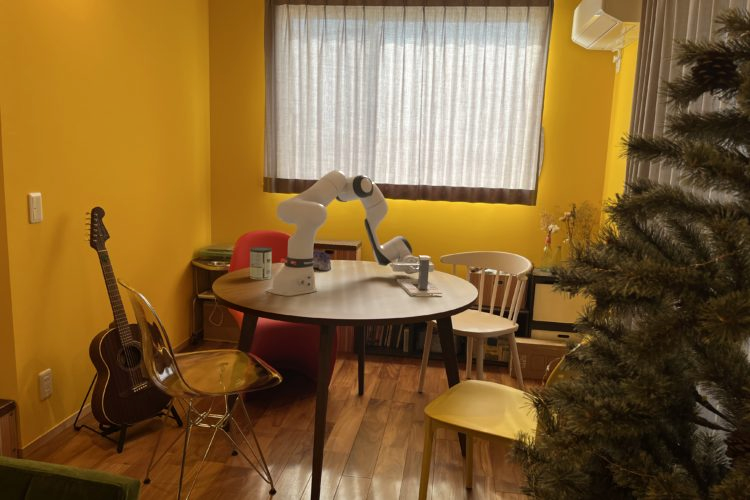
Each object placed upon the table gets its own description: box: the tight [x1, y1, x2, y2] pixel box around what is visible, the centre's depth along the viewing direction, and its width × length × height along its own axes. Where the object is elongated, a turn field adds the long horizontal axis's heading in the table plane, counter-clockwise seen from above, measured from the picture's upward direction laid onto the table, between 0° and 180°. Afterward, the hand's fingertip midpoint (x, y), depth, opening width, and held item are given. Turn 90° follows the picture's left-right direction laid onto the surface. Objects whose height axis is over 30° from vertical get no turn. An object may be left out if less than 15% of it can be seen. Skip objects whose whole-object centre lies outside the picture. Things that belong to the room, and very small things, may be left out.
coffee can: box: [249, 246, 273, 281], centre depth 266 cm, size 10×10×14 cm
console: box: [396, 278, 443, 296], centre depth 259 cm, size 28×14×2 cm, turn 10°
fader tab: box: [417, 255, 432, 291], centre depth 251 cm, size 4×4×16 cm
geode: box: [313, 249, 332, 272], centre depth 298 cm, size 20×12×10 cm, turn 27°
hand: (416, 270), depth 263 cm, fingers closed
